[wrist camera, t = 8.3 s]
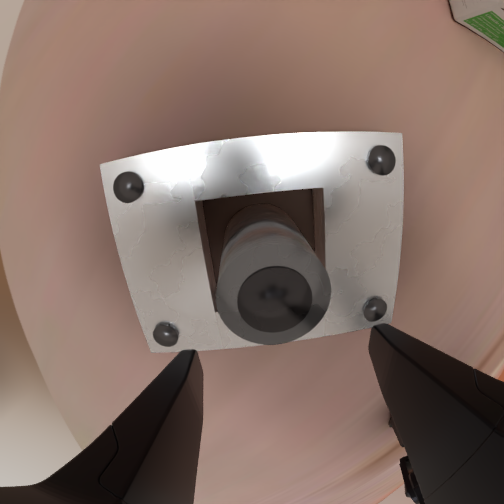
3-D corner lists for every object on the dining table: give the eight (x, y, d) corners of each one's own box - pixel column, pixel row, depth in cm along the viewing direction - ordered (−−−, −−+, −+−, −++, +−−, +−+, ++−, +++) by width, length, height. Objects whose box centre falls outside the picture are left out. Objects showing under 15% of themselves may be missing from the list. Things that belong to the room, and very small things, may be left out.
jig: (382, 133, 15) (404, 133, 12) (377, 305, 19) (392, 325, 17) (117, 161, 15) (97, 165, 12) (159, 331, 19) (150, 355, 17)
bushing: (295, 199, 16) (333, 239, 10) (299, 268, 18) (330, 339, 11) (219, 208, 16) (205, 254, 10) (229, 276, 18) (225, 353, 11)
